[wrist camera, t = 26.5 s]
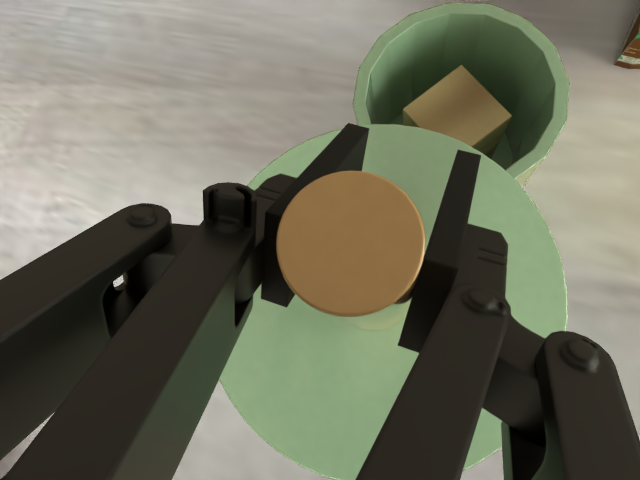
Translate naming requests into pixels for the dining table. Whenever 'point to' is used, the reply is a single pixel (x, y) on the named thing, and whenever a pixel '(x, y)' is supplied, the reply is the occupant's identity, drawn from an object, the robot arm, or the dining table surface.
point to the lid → (371, 294)
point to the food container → (631, 47)
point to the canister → (482, 63)
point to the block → (460, 112)
